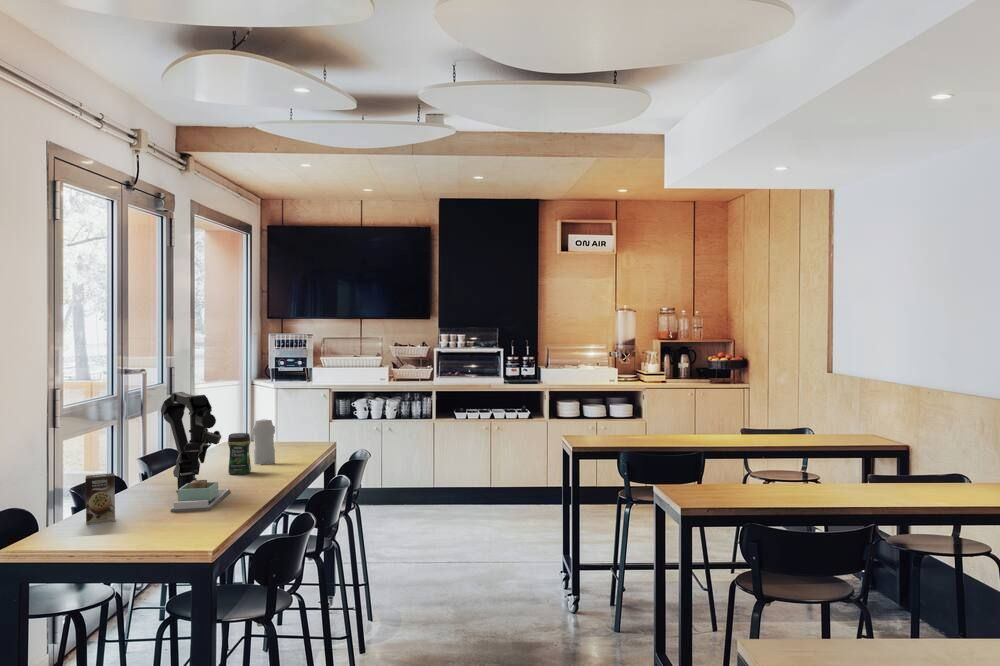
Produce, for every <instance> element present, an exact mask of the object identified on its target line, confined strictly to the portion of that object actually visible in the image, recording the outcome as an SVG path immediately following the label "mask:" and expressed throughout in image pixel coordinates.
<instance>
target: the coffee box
mask: <svg viewBox="0 0 1000 666" xmlns="http://www.w3.org/2000/svg"><path fill="white" fill-rule="evenodd" d="M84 480H85V524H86V525H93V524H100V523H102V524H103V523H109V522H116V504H115V503H116V502H115V501H116V497H115V494H116V491H115V490H116V488H115V486H116V485H115V473H114V472H111V473H102V474H90V475H89V474H88V475H85V479H84Z"/></svg>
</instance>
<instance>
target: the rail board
mask: <svg viewBox="0 0 1000 666" xmlns="http://www.w3.org/2000/svg"><path fill="white" fill-rule="evenodd" d="M230 493H231V489H230V488H228V487H227V489H218V495H216V496H215V497H214V498H213V499H212V500H211V501H209V503H208V500H202V501H182V502H178V501H174V502H173V506H172V507H171V508H170V512H171V513H178V512H196V511H201V512H202V511H211V510H212V509H213V508H215V507H216V506H217V505H218V504H219V503H220V502H221V501H222V500H223V499H224V498H225V497H226V496H228V495H229V494H230Z"/></svg>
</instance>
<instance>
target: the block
mask: <svg viewBox="0 0 1000 666" xmlns="http://www.w3.org/2000/svg"><path fill="white" fill-rule="evenodd" d="M207 482H208V480H207V479H197V480H193V481H192V482H191V483H190V489H197V488H207Z"/></svg>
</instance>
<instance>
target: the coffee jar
mask: <svg viewBox="0 0 1000 666" xmlns="http://www.w3.org/2000/svg"><path fill="white" fill-rule="evenodd" d="M227 437H228V439H227V445H228V447H229V460H228V474H229V475H233V474H239V475H246V474H249V473H251V471H252V464H251V457H250V444H251V436H250V433H248V432H238V433H237V432H236V433H235V432H233V433H230V434H228V436H227Z"/></svg>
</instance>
